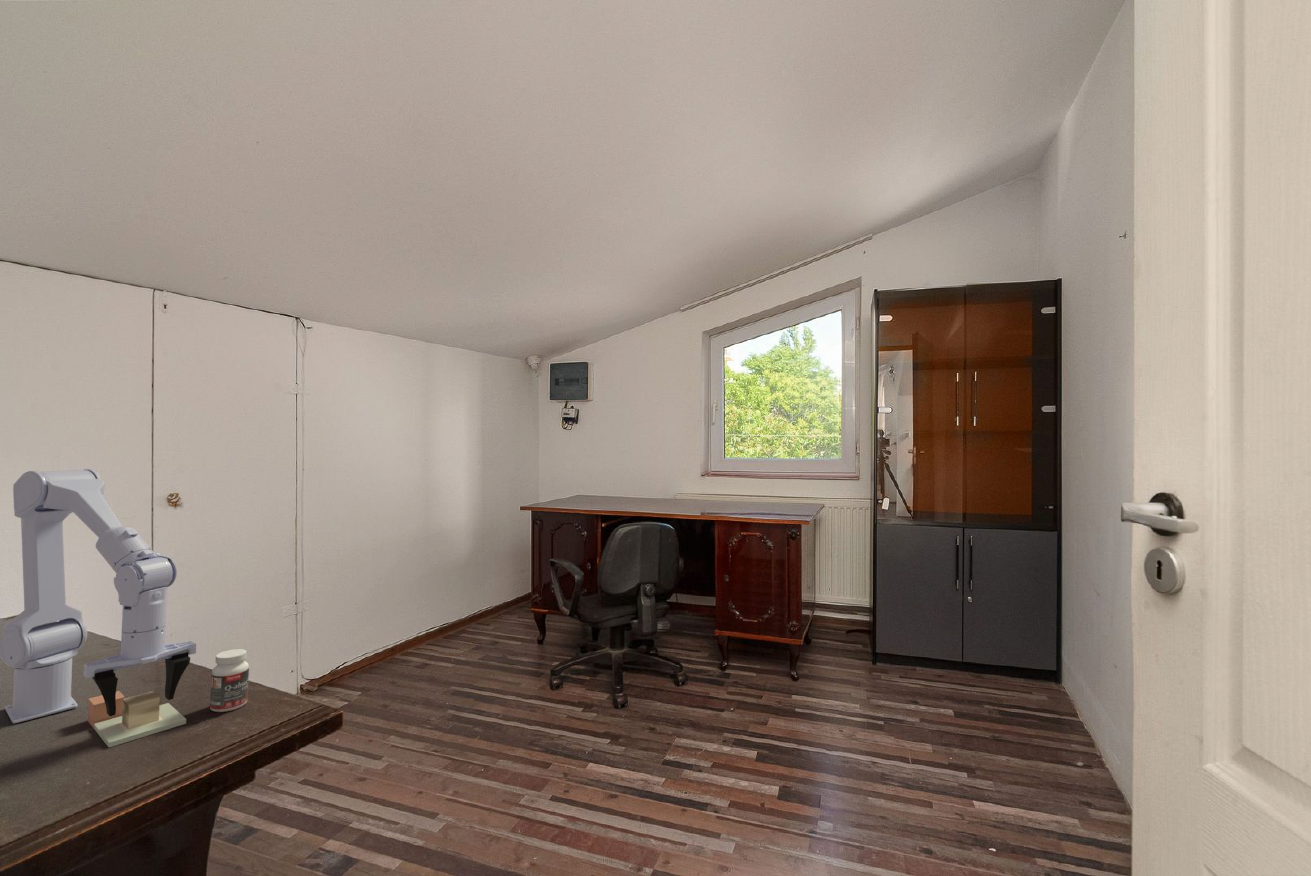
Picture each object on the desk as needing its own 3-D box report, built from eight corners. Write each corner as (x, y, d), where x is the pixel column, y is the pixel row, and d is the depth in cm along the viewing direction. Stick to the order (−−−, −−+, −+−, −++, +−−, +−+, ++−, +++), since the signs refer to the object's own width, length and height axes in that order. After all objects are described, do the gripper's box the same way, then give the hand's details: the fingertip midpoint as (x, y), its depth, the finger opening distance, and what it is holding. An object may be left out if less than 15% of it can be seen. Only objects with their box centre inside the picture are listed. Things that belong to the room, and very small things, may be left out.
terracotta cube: (87, 721, 100) (88, 698, 100) (118, 712, 103) (119, 690, 103) (93, 728, 97) (93, 705, 97) (124, 719, 101) (125, 696, 101)
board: (93, 728, 97) (93, 723, 97) (168, 707, 105) (168, 702, 105) (108, 747, 91) (108, 742, 91) (186, 723, 99) (186, 718, 99)
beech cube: (122, 722, 98) (122, 699, 98) (152, 713, 101) (152, 691, 101) (128, 729, 95) (129, 705, 95) (158, 720, 99) (159, 697, 99)
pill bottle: (227, 714, 103) (229, 660, 103) (201, 711, 104) (203, 657, 104) (255, 701, 109) (257, 649, 109) (230, 697, 110) (232, 646, 110)
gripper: (91, 644, 90) (88, 729, 90) (203, 622, 102) (200, 697, 102) (81, 634, 94) (78, 716, 94) (189, 614, 106) (187, 686, 106)
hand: (141, 705), depth 98 cm, fingers open, 7 cm apart
